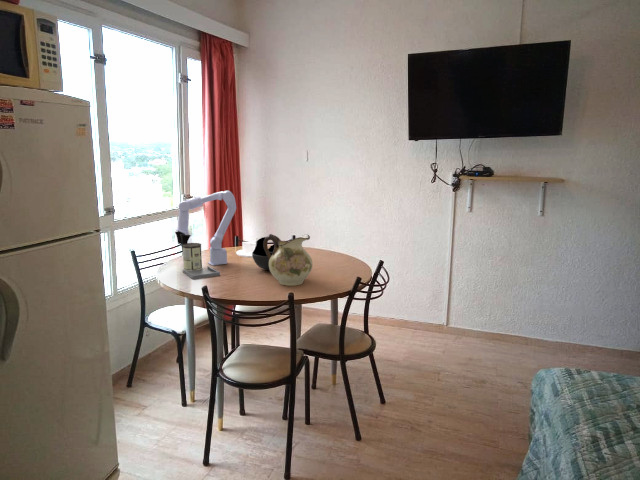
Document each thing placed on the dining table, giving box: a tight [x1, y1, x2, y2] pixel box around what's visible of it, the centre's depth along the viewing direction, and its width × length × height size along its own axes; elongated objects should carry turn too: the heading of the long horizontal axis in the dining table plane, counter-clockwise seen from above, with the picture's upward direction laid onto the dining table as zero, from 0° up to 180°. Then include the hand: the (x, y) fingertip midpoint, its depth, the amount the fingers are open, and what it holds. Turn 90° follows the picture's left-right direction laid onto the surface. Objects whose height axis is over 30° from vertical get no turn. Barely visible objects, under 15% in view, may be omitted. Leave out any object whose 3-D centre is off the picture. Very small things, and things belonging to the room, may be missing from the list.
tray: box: [182, 265, 221, 280], centre depth 249 cm, size 15×16×2 cm
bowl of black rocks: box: [252, 236, 279, 271], centre depth 257 cm, size 20×20×19 cm
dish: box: [236, 236, 263, 258], centre depth 300 cm, size 25×25×11 cm
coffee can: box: [181, 242, 203, 271], centre depth 258 cm, size 10×10×14 cm
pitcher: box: [263, 233, 313, 287], centre depth 232 cm, size 22×24×25 cm
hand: (182, 245), depth 265 cm, fingers open, 7 cm apart
